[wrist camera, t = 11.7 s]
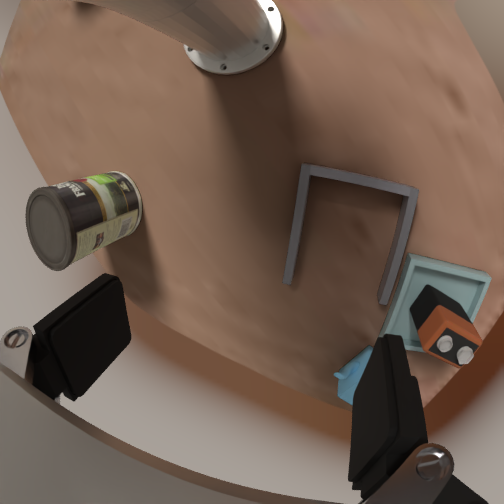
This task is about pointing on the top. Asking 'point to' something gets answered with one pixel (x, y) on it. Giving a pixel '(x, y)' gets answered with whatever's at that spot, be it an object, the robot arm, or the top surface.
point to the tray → (440, 277)
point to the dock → (365, 180)
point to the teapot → (352, 375)
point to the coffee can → (81, 217)
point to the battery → (444, 327)
